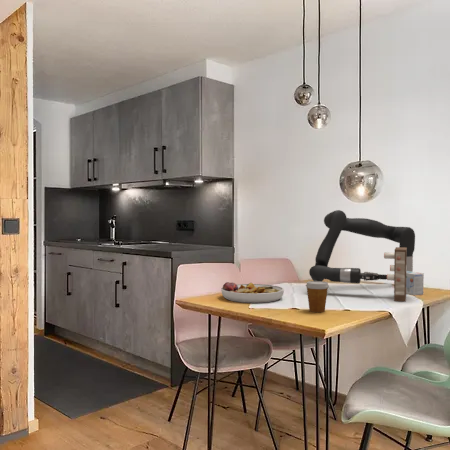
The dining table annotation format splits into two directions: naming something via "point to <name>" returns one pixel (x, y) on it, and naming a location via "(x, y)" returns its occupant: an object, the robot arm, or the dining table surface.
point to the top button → (389, 255)
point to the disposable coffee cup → (317, 295)
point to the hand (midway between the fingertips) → (386, 277)
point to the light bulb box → (414, 283)
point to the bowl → (251, 292)
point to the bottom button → (390, 277)
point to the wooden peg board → (400, 274)
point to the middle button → (393, 267)
